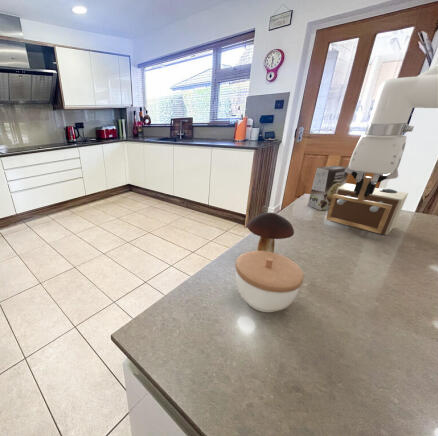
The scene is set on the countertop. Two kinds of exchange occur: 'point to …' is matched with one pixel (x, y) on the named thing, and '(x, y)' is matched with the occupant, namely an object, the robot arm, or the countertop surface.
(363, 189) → the wooden frame with handle
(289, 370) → the countertop surface
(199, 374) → the countertop surface
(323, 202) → the coffee box
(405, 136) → the robot arm
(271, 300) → the lidded bowl
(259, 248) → the decorative mushroom
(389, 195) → the cabinet
